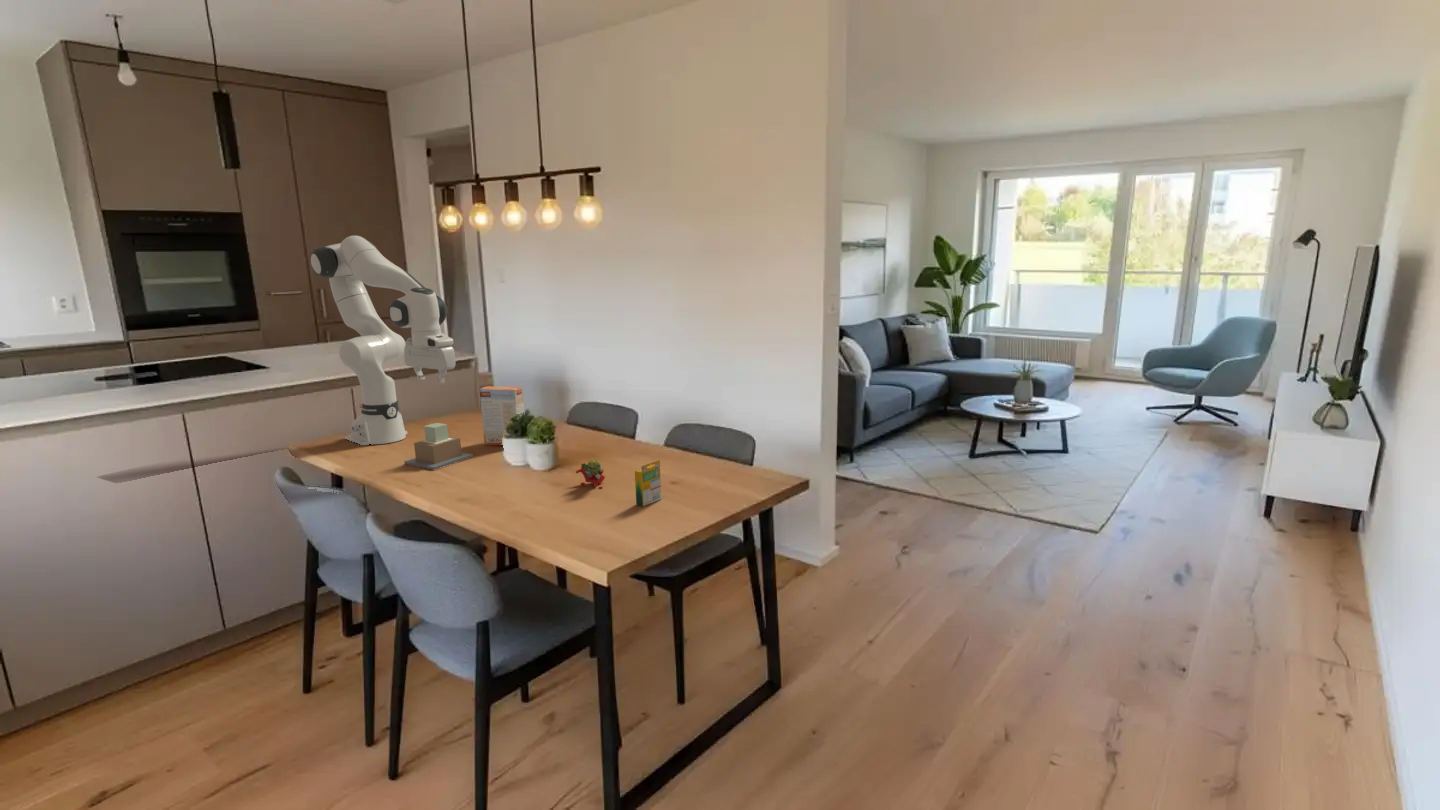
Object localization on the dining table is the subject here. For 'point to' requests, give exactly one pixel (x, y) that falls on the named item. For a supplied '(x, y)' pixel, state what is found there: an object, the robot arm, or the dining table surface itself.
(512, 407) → the cracker box
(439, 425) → the sage cube
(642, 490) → the crayon box
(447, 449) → the build base
